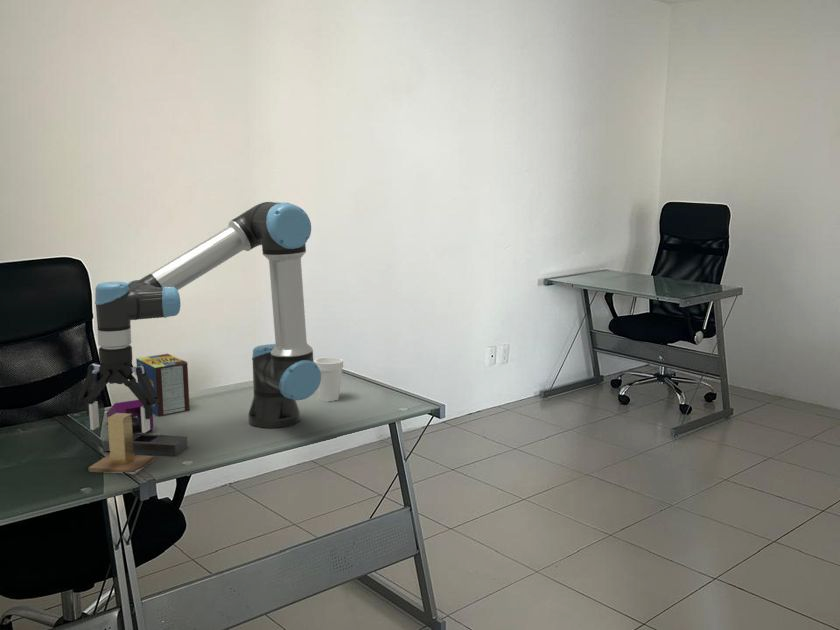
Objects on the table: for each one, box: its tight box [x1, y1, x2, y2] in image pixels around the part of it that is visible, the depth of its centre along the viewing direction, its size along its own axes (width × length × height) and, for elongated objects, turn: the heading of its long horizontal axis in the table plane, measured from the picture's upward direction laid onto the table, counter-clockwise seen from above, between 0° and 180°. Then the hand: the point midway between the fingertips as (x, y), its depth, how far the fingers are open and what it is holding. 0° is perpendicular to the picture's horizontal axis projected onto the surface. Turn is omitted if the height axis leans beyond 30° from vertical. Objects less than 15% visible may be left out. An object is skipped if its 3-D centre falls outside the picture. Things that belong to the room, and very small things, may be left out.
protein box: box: [135, 353, 190, 417], centre depth 240 cm, size 10×15×16 cm
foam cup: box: [313, 356, 344, 402], centre depth 252 cm, size 10×9×13 cm
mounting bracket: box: [106, 399, 154, 431], centre depth 222 cm, size 9×8×18 cm
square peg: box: [107, 413, 135, 465], centre depth 191 cm, size 4×4×12 cm
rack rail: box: [102, 432, 188, 457], centre depth 204 cm, size 20×7×3 cm, turn 81°
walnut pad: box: [87, 453, 155, 473], centre depth 192 cm, size 12×10×1 cm
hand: (120, 429), depth 191 cm, fingers open, 13 cm apart
